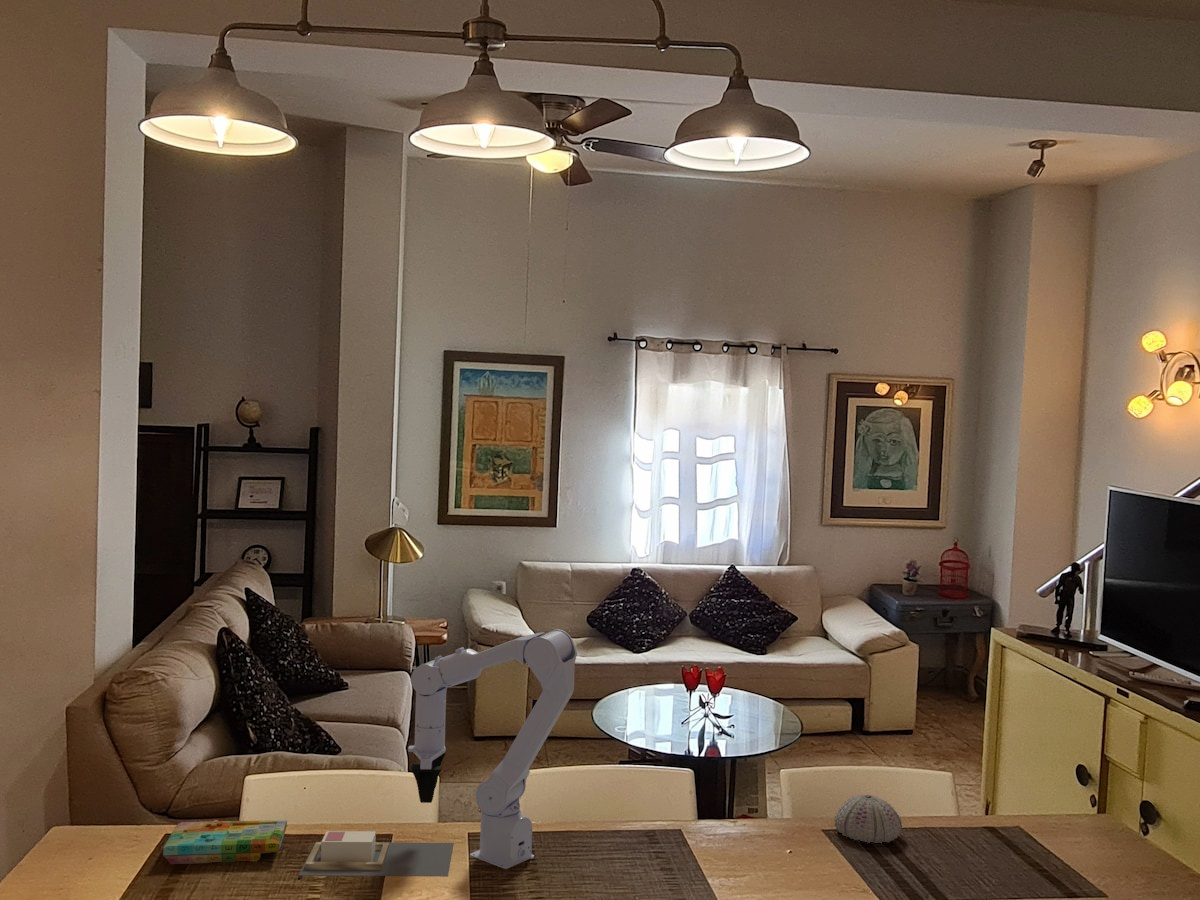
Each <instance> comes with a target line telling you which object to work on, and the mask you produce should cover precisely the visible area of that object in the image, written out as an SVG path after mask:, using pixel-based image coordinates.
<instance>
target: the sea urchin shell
mask: <svg viewBox="0 0 1200 900" xmlns="http://www.w3.org/2000/svg"><path fill="white" fill-rule="evenodd" d="M834 826H835V829H836V830H837V831H838V833H839V834H840V833H842V834H841V836H847V837H850V838H849V839H851V840H852V839H854V840H853V841H855V840H860V841H865V842H868V843H869V844H871V843H870V842H874V843H881V844H883V843H882V842H887V843H891V842H893V841H894V840H895V839H898V836H899V835H901V832H902V828H903V821H902V818H901V817H900V815H899V814H898V811H896V810H895V807H893V806H892V805H891V804H890V803H889V802H887V800H885V799H883V798H881V797H878V796H876V795H873V794H858V795H857V794H856V795H854V796H851V797H850V798H848V799H847V800H846V801H844V803H843V804H841V806H840V807H839V808H838V811H837V812H835V816H834ZM847 837H846V838H847ZM860 841H859V842H860ZM868 843H867V844H868Z"/></svg>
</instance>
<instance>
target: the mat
mask: <svg viewBox="0 0 1200 900" xmlns="http://www.w3.org/2000/svg"><path fill="white" fill-rule="evenodd" d="M315 844H316V842H315V843H314V844H313V847H312V849H311V850H310V851H309V852H310V853H311V852H312V850H313V848H314V846H315ZM454 845H455V843H454V842H392V841H391V842H389V850H388V853H387V856H386V859H385V862H384V865H383V868H382V870H305V863H306V861H307V859H308V857H309V855H310V853H309V855H307V858H306V861H305V862H304V864H303V866H302V868H301V870H300V872H299V874H298V879H303V877H305V876H306V877H309V876H310V877H315V876H316V877H319V876H320V877H321V876H322V877H323V876H324V877H325V876H327V877H328V876H329V877H449V873H450V867H451V862H452V861H451V860H452V857H453V850H454ZM380 852H381V850H375V855H374V858H373V861H372V862H377V861H378V858H379V855H380ZM315 862H321V850H320V852H319V854H318V856H317V858H316V860H315Z"/></svg>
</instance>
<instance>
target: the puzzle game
mask: <svg viewBox="0 0 1200 900" xmlns="http://www.w3.org/2000/svg"><path fill="white" fill-rule="evenodd" d="M287 827H288V820H286V819H282V820H281V819H277V820H276V819H275V820H270V819H269V820H227V821H226V820H225V821H224V820H223V821H222V820H221V821H219V819H214V820H213V821H181V822H178V823H177V824H176V825H175V827H174V829H173V830H172V832H171V834H170V835H169V837H168V838H167V841H166V842H165V844H164V845H163V847H162V856H163V858H165V859H166V860H167V862H168V863H169V864H170V865H188V864H193V865H195V864H213V863H212V862H223V863H236V862H235V861H250V862H257V861H256V860H258V861H259V860H260V859H261V856H262V854H266V853H267V854H268V853H277V852H278V851H280V849H281V846H282V842H283V840H284V837H285V834H286V831H287ZM253 860H254V861H253ZM210 862H211V863H210Z"/></svg>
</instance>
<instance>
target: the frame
mask: <svg viewBox="0 0 1200 900" xmlns="http://www.w3.org/2000/svg"><path fill="white" fill-rule="evenodd" d="M321 842H322V841H315V843H316V844H315V843H314V844H315V846H314V845H313V846H314V848H313V847H312V848H313V850H312V849H311V850H312V852H311V851H310V852H311V853H309V854H310V855H308V856H309V857H308V856H307V858H308V859H307V858H306V860H307V861H305V862H306V863H305V862H304V864H305V870H382V868H383V865H384V862H385V859H386V856H387V853H388V850H389V842H387V841H386V842H384V841H383V842H377V841H376V843H375V850H381V852H380V855H379V858H378V861H377V862H315V860H316V858H317V856H318V854H319V852H320V850H321Z"/></svg>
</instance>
